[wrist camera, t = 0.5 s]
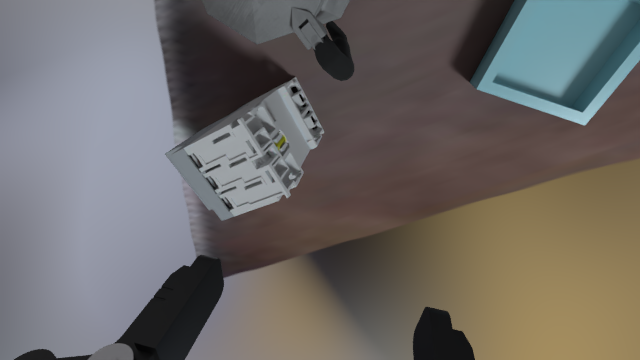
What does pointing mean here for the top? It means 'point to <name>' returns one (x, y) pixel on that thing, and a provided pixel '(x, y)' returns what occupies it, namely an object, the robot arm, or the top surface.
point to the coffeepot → (291, 26)
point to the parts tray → (562, 55)
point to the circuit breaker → (250, 152)
